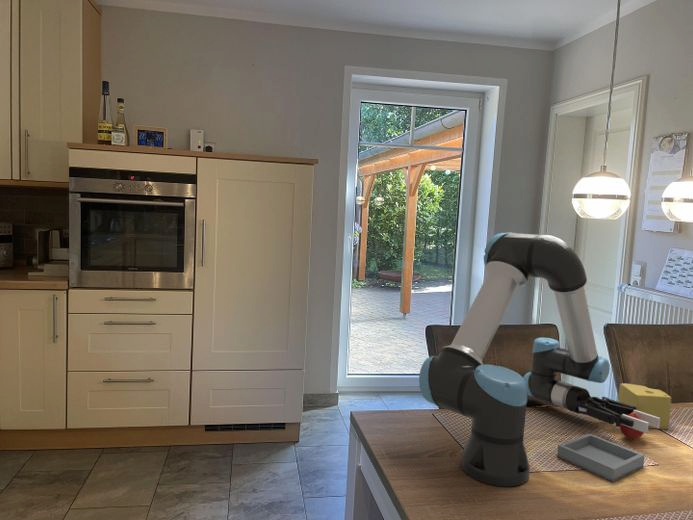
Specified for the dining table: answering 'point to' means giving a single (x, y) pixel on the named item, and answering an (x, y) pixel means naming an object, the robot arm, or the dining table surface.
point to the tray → (601, 456)
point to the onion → (631, 429)
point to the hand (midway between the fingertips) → (653, 425)
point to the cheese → (647, 402)
